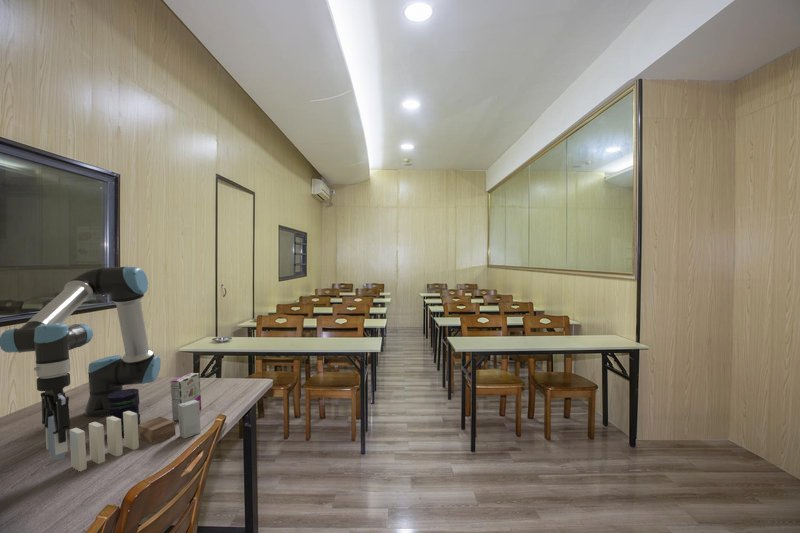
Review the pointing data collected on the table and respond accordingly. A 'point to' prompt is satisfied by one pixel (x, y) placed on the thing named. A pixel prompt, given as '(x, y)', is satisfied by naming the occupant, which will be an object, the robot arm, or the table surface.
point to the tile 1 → (78, 449)
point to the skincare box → (189, 418)
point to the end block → (156, 430)
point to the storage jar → (123, 404)
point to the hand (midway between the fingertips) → (57, 450)
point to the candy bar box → (185, 392)
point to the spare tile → (51, 439)
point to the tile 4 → (130, 430)
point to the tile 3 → (114, 436)
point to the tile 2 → (96, 442)
